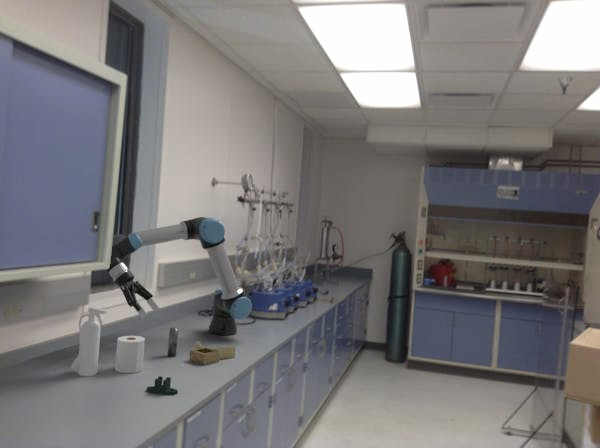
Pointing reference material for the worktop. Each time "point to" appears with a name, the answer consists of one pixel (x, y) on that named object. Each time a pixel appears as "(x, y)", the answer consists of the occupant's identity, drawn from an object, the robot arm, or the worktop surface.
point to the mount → (162, 387)
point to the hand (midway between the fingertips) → (151, 313)
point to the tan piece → (210, 354)
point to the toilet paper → (129, 354)
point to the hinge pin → (172, 342)
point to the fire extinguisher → (89, 343)
